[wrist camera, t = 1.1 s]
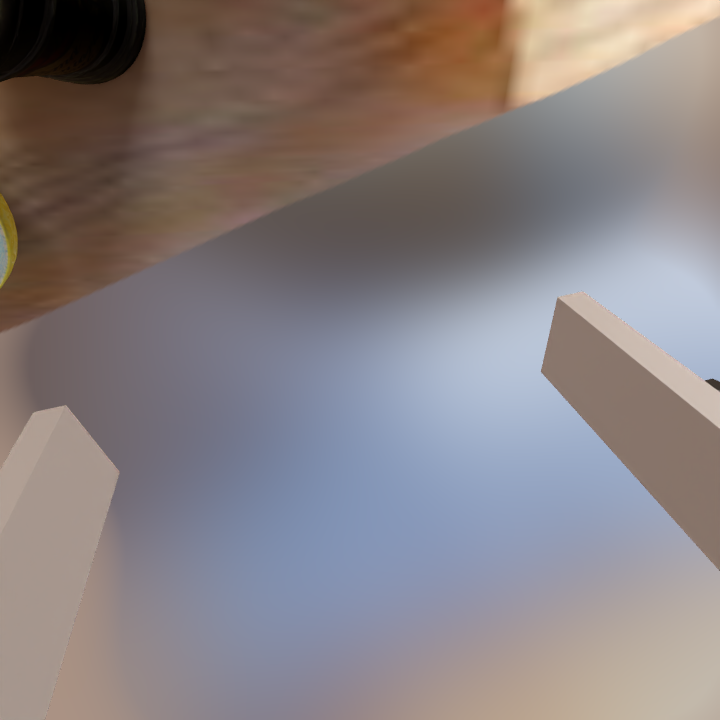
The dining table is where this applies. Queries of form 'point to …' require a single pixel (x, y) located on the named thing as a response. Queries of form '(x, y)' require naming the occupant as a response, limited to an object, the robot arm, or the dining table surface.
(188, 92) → the dining table surface
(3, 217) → the bowl
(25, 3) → the container
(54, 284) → the dining table surface
